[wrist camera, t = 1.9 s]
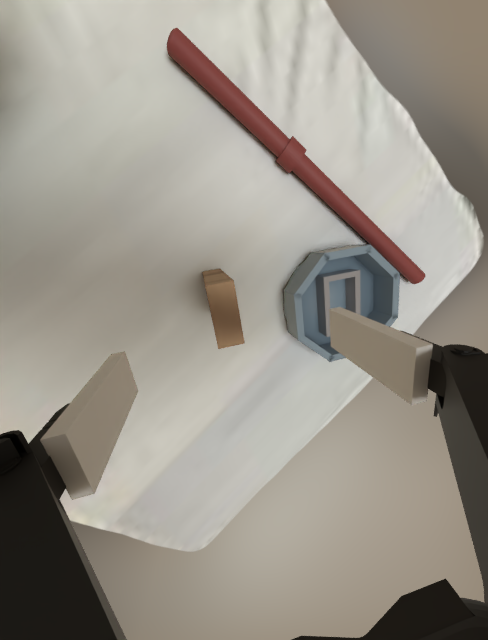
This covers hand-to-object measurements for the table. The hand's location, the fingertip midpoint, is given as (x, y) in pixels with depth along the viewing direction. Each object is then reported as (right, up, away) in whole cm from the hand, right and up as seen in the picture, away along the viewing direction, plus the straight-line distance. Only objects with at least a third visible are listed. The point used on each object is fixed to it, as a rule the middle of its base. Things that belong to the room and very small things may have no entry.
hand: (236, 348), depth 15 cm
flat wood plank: (-4, +6, +19) cm, 21 cm away
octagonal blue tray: (+15, +5, +23) cm, 28 cm away
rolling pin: (+11, +20, +18) cm, 30 cm away
